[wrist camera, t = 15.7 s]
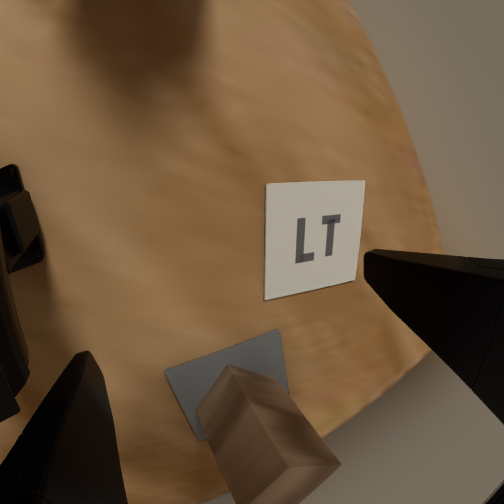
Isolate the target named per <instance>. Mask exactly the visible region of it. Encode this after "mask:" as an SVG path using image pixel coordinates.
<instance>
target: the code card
mask: <svg viewBox="0 0 504 504" xmlns="http://www.w3.org/2000/svg"><path fill="white" fill-rule="evenodd" d="M364 189H365V181H364V180H348V181H312V182H288V183H269V184H265V255H264V300H268V299H273V298H278V297H283V296H287V295H292V294H296V293H301V292H305V291H310V290H314V289H319V288H323V287H327V286H332V285H336V284H340V283H345V282H349V281H353V280H355V276H356V268H357V261H358V252H359V244H360V234H361V225H362V214H363V202H364Z"/></svg>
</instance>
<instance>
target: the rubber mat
mask: <svg viewBox="0 0 504 504" xmlns="http://www.w3.org/2000/svg"><path fill="white" fill-rule="evenodd" d="M227 364H229V365H232V366H236V367H239V368H243V369H246V370H250V371H253V372H257V373H260V374H264V375H268V376H271V377H275V378H277V380H278V381H279V382H280V384H281V385H282V387H283V388H284V389H285V391H286V392H287V393H288V395H289V391H288V383H287V376H286V369H285V362H284V355H283V349H282V342H281V335H280V332H279V331H278V329H275V330H273V331H270V332H268V333H265V334H263V335H260V336H258V337H255V338H253V339H250V340H247V341H245V342H242V343H240V344H237V345H234V346H232V347H229V348H226V349H224V350H221V351H218V352H215V353H213V354H210V355H207V356H204V357H202V358H199V359H196V360H193V361H190V362H187V363H184V364H181V365H178V366H176V367H173V368H170V369H167V370H164V371H165V374H166V377H167V379H168V381H169V383H170V385H171V387H172V389H173V391H174V393H175V395H176V397H177V399H178V401H179V403H180V405H181V407H182V409H183V411H184V413H185V415H186V417H187V419H188V421H189V423H190V425H191V426H192V428H193V430H194V432H195V434H196V436H197V437H198V439H199V441H201V440H204V439H207V437H206V435H205V432H204V430H203V427H202V425H201V422H200V420H199V417H198V415H197V412H196V410H195V409H196V408H197V406H198V405H199V403H200V402H201V401H202V399H203V398H204V396H205V395H206V394H207V392H208V391H209V389H210V388H211V386H212V385H213V384H214V382H215V381H216V379H217V378H218V377H219V375H220V374H221V372H222V371H223V369H224V368H225V366H226V365H227Z"/></svg>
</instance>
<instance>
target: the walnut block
mask: <svg viewBox="0 0 504 504" xmlns="http://www.w3.org/2000/svg"><path fill="white" fill-rule="evenodd" d="M195 410H196V412H197V415H198V417H199V420H200V422H201V425H202V427H203V430H204V432H205V435H206V437H207V440H208V442H209V445H210V447H211V449H212V452H213V454H214V456H215V459H216V461H217V463H218V465H219V468H220V470H221V472H222V474H223V477H224V479H225V481H226V483H227V485H228V487H229V490H230V492H231V494H232V496H233V498H234V500H235V502H236V504H299V503H300V502H301V501H302V500H303V499H305V498H306V497H307V496H308V495H309V494H310V493H311V492H312V491H314V490H315V489H316V488H317V487H318V486H319V485H320V484H322V482H324V481H325V480H326V479H327V478H328V477H329V476H330V475H331V474H332V473H333V472H334V471H335V470H336V469H337V468H338V467H339V466H340V465H341V463H340V461H339V460H338V459H337V458H336V456H335V455H334V454H333V453H332V451H331V450H330V449H329V448H328V446H327V445H326V444H325V442H324V441H323V440H322V439H321V437H320V436H319V435H318V433H317V432H316V431H315V429H314V428H313V427H312V425H311V424H310V423H309V422H308V420H307V419H306V418H305V416H304V415H303V414H302V412H301V411H300V410H299V408H298V407H297V406H296V404H295V403H294V401H293V400H292V399H291V397H290V396H289V395H288V393H287V392H286V391H285V389H284V388H283V387H282V385H281V384H280V382H279V381H278V380H277V378H275V377H271V376H268V375H264V374H260V373H257V372H253V371H250V370H246V369H243V368H239V367H236V366H232V365H229V364H227V365H226V366H225V368H224V369H223V371H222V372H221V374H220V375H219V377H218V378H217V379H216V381H215V382H214V384H213V385H212V386H211V388H210V389H209V391H208V392H207V394H206V395H205V396H204V398H203V399H202V401H201V402H200V403H199V405H198V406H197V408H196V409H195Z"/></svg>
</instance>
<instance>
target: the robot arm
mask: <svg viewBox="0 0 504 504" xmlns="http://www.w3.org/2000/svg"><path fill="white" fill-rule="evenodd" d="M10 169H13V171H14V174H13V176H10V174H9V170H10ZM39 231H40V226H39V223H38V220H37V217H36V214H35V210H34V207H33V204H32V201H31V197H30V194H29V192H28V191H26V190H24V187H23V183H22V179H21V176H20V172H19V168H18V166H17V165H15V164H10V165H7V166H5V167H3V168H1V169H0V422H2V421H4V420H6V419H8V418H9V417H11V416H13V415H15V414H17V413H19V412H20V407H19V405H18V403H17V401H16V399H15V397H16V395H17V394H18V393H19V391H20V390H21V389H22V387H23V386H24V385H25V384H26V381H27V379H28V377H29V374H30V370H29V368H28V363H29V359H28V348H27V345H26V342H25V339H24V335H23V332H22V329H21V325H20V322H19V318H18V315H17V311H16V307H15V303H14V299H13V295H12V291H11V286H10V282H9V277H8V274H9V273H12V272H15V271H17V270H20V269H23V268H25V267H28V266H31V265H34V264H36V263H39V262H41V261H42V260H43V258H44V256H45V252H44V249H43V246H42V243H41V240H40V238H39V235H38V233H39ZM36 251H37V252H39V253H40V257H37V256H36V255H35V252H36ZM364 278H365V280H366V282H367V283H368V284H369V285H370V286H371V287H372V289H373V290H374V291H375V292H376V293H377V294H378V296H379V297H380V298H381V299H382V300H383V301H384V302H385V304H386V305H387V306H388V307H389V308H390V309H391V310H392V311H393V312H394V313H395V314H396V315H397V316H398V317H399V318H400V319H401V320H402V321H403V322H404V323H405V324H406V325H407V326H408V327H409V328H410V329H411V330H412V331H413V332H414V333H415V334H416V335H417V336H419V337H420V338H421V339H422V340H423V341H424V342H425V343H426V344H427V345H428V346H429V347H430V348H431V349H432V350H433V351H434V352H435V353H436V354H437V355H438V356H439V357H440V358H441V359H442V360H443V361H444V362H445V363H446V364H447V365H448V366H449V367H450V368H451V369H452V370H453V371H454V372H455V373H456V374H457V375H458V376H459V377H460V379H461V380H463V382H465V384H466V385H467V386H468V387H469V388H470V389H472V391H473V392H474V393H475V394H476V395H477V397H479V399H480V400H482V402H483V403H484V404H485V405H486V406H487V407H488V408H489V409H490V410H491V411H492V413H493V414H494V415H495V416H496V417H497V418H498V419H499V420H500V421H501V422H502V423H503V425H504V260H503V259H486V258H473V257H463V256H452V255H440V254H429V253H418V252H406V251H394V250H382V249H373V250H371V251H368V252H366V253H365V254H364ZM22 433H23V434H21V435H20V436H19V438H18V439H17V441H16V443H15V444H14V446H13V447H12V449H11V450H10V452H9V453H8V455H7V456H6V458H5V459H4V461H3V462H2V464H1V465H0V504H128V502H127V497H126V492H125V487H124V482H123V477H122V472H121V466H120V460H119V454H118V448H117V441H116V434H115V427H114V421H113V416H112V412H111V408H110V404H109V399H108V395H107V390H106V385H105V380H104V376H103V374H102V372H101V370H100V368H99V366H98V364H97V363H96V361H95V359H94V357H93V355H92V354H91V353H90V351H83V352H80V353H77V354H76V355H75V356H74V357H73V359H72V360H71V361H70V363H69V364H68V365H67V367H66V368H65V370H64V371H63V372H62V374H61V375H60V377H59V378H58V379H57V381H56V382H55V384H54V385H53V387H52V388H51V390H50V391H49V392H48V394H47V395H46V397H45V398H44V400H43V401H42V403H41V404H40V406H39V407H38V409H37V410H36V412H35V413H34V415H33V416H32V418H31V419H30V421H29V422H28V424H27V425H26V427H25V428H24V430H23V432H22ZM482 504H504V480H503V481H502V482H501V484H500V485H499V486H498V487H497V488H496V489H495V490H494V491H493V493H492V494H491V495H490V496H489V497H488V498H487V499H486V500H485V501H484V502H483V503H482Z"/></svg>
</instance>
